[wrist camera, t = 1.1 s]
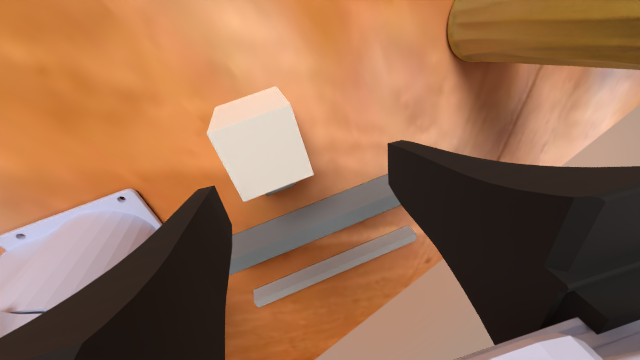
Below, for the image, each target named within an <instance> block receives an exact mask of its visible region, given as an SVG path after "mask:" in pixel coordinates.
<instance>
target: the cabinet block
mask: <svg viewBox="0 0 640 360" xmlns="http://www.w3.org/2000/svg"><path fill="white" fill-rule="evenodd" d="M207 135H208V137H209V139H210V141H211V142H212V144H213V146H214V148H215V150H216V152H217V154H218V155H219V157H220V159H221V161H222V163H223V165H224V167H225V168H226V170H227V172H228V174H229V176H230V178H231V180H232V181H233V183H234V185H235V187H236V189H237V191H238V193H239V194H240V196H241V198H242V200H243V202H245V201H247V200H250V199H253V198H255V197H258V196H260V195H263V194H266V195H267V196H269V195H271V194H274V193H276V192H279V191H281V190H284V189H287V188H289V187H292V186H294V185H296V184H295V182H297V181H299V180H302V179H304V178H307V177H310V176H312V175H314V174H313V171H312V168H311V165H310V162H309V159H308V156H307V153H306V150H305V147H304V144H303V140H302V137H301V134H300V131H299V128H298V125H297V122H296V119H295V116H294V113H293V110H292V107H291V104H290V103H289V102H288V100H287V99H286V98H285V97H284V95H283V94H282V93H281V92H280V90H279V89H278V88H277V87H276V86H275V87H272V88H269V89H266V90H263V91H260V92H257V93H255V94H252V95H249V96H246V97H243V98H240V99H237V100H234V101H231V102H229V103H226V104H223V105H220V106H217V107H215V109H214V112H213V116H212V119H211V122H210V125H209V128H208V131H207Z"/></svg>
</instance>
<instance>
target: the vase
mask: <svg viewBox="0 0 640 360" xmlns="http://www.w3.org/2000/svg"><path fill="white" fill-rule="evenodd" d="M447 32H448V40H449V44H450V47H451V49H452V51H453V52H454V54H455V55H456V56H457V57H458V58H460V59H461V60H463V61H467V62H503V63H523V64H539V65H558V66H580V67H595V68H615V69H633V70H640V0H455V1H454V3H453V6H452V8H451V11H450V15H449V19H448V31H447Z"/></svg>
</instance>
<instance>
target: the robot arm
mask: <svg viewBox="0 0 640 360" xmlns="http://www.w3.org/2000/svg"><path fill="white" fill-rule="evenodd" d="M388 184H389V186H390V188H391V190H392V191H393V193H394V195H395V196H396V198H397V199H398V201H399V202H400V204H401V205H402V206H403V207H404V209H405V210H406V211H407V212H408V213H409V215H410V216H411V217H412V218H413V219H414V221H415V222H416V223H417V224H418V225H419V227H420V228H421V229H422V230H423V231H424V233H425V234H426V235H427V236H428V237H429V239H430V240H431V241H432V242H433V244H434V245H435V246H436V248H437V249H438V251H439V252H440V254H441V255H442V257H443V258H444V260H445V261H446V263H447V264H448V266H449V267H450V269H451V270H452V272H453V274H454V275H455V277H456V278H457V280H458V282H459V283H460V285H461V286H462V288H463V290H464V291H465V293H466V295H467V296H468V298H469V300H470V302H471V303H472V305H473V307H474V308H475V310H476V312H477V314H478V315H479V317H480V319H481V321H482V323H483V324H484V326H485V328H486V330H487V332H488V334H489V336H490V337H491V339H492V341H493V343H494V345H495V346H492V347H490V348H486V349H483V350H481V351H478V352H475V353H472V354H469V355H466V356H463V357H460V358H457V359H454V360H640V166H635V167H634V166H632V167H555V166H538V165H526V164H516V163H507V162H500V161H493V160H486V159H481V158H475V157H471V156H466V155H461V154H457V153H453V152H449V151H445V150H441V149H437V148H433V147H430V146H426V145H422V144H418V143H414V142H410V141H404V140H400V141H396V142H392V143H388ZM120 196H122V197H124V198H125V199H126V200H122V199H120ZM21 234H24V235H25V236H23V235H21ZM0 246H1V247H3V248H4V249H5V250H6V251H5V252H4V253H3V254H2V255H1V256H0V360H225V305H226V294H227V286H228V279H229V271H230V263H231V254H232V224H231V222H230V220H229V217H228V215H227V213H226V210H225V208H224V206H223V204H222V201H221V199H220V197H219V195H218V192H217V190H216V188H215V186H210V187H206V188H202V189H198V190H197V191H196V192H195V193H194V194H193V195H192V196H191V197H190V198H189V199H188V200H187V201H186V202H185V203H184V204H183V205H182V206H181V207H180V208H179V209H178V210H177V211H176V212H175V213H174V214H173V215H172V216H171V217H170V218H169V219H168V220H167V221H166V222H165V223H164V224H162V223H161V222H160V220H159V219H158V218H157V217H156V215H155V214H154V213H153V212H152V210H151V209H150V208H149V207H148V205H147V204H146V203H145V202H144V200H143V199H142V198H141V197H140V195H139V194H138V193H137V192H136V191H135V190H133V189H125V190H122V191H119V192H117V193H114V194H111V195H108V196H106V197H103V198H100V199H97V200H95V201H92V202H89V203H87V204H84V205H81V206H78V207H76V208H73V209H70V210H67V211H65V212H62V213H59V214H56V215H54V216H51V217H48V218H45V219H43V220H40V221H37V222H34V223H32V224H29V225H26V226H23V227H21V228H18V229H15V230H12V231H10V232H7V233H4V234H2V235H1V236H0Z"/></svg>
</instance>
